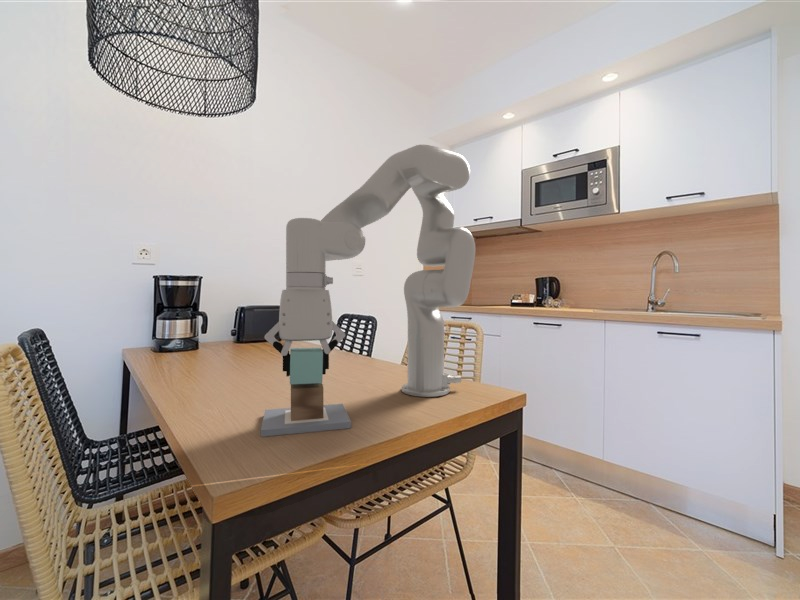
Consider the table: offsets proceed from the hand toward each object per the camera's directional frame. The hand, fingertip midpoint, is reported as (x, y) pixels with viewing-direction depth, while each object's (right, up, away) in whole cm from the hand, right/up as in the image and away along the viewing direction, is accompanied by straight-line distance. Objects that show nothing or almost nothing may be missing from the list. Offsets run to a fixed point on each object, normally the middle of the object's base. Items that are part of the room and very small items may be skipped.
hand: (305, 373), depth 74 cm
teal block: (0, -1, 0) cm, 1 cm away
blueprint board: (0, -10, 0) cm, 10 cm away
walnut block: (0, -8, 0) cm, 8 cm away
